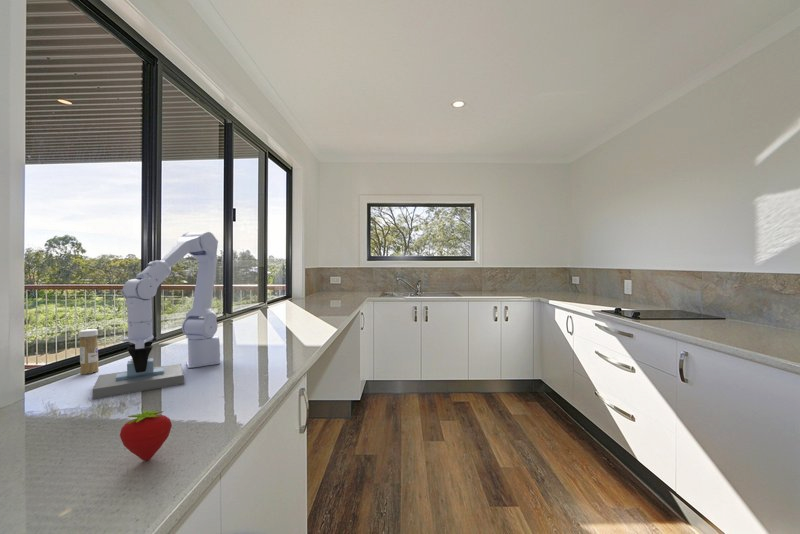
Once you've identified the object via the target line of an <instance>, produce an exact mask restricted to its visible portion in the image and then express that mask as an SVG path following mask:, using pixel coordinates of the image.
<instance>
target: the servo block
mask: <svg viewBox="0 0 800 534" xmlns="http://www.w3.org/2000/svg"><path fill="white" fill-rule="evenodd" d="M154 367H155V366H154V358H153V357H151V358H149V357H148V361H147V367H146V371H145V372H139V373H136V370H135V367H134V362H133V359H132V358H130V360H128V361H127V363H126V371H127V373H121V374H117V376H116V381H117V380H124V379H125V380H129V379H135V378H142V377H148V376H154V375H157V374H164V367H163V368H156V369H154Z"/></svg>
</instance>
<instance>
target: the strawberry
mask: <svg viewBox="0 0 800 534" xmlns="http://www.w3.org/2000/svg"><path fill="white" fill-rule="evenodd" d="M143 408H144V405H143V404H142V406H141V413H137V414H132V415H128V416H127V418H132V419H131V420H128V421H127V422H126V423H125V424H124V425H123V426H122V427H121V428H120V433H119V437H120V440H121V443H122V444H123V447H125V448H126V449H127V450H128V451H129V452H130V453H132V454H134V455H135V456H136V457H138V458H139V459H140V460H142V461H144V462H145V461H149V460H151V459H152V458H153V457H154V455H155V454H156V453H157V452H158V450H160V449H161V447H162V446H163V444H164V443H165V442H166V440H167V439H168V437H169V436H170V433H171V429H172V427H173V424H172V422H171V419H170V418H169V417H167V416H166V415H164V414H161V413H164V410H162V411H158V409H155V410H151V411H148V410H147V409H146V410H144V411H143Z"/></svg>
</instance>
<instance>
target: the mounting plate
mask: <svg viewBox="0 0 800 534" xmlns="http://www.w3.org/2000/svg"><path fill="white" fill-rule="evenodd" d="M163 367H164V374H157V375H154V376H148V377H142V378H135V379H129V380H125V379H124V380H117V381H116V376H117V374H121V373H127V370H125V371H121V372H111V373H105V374H99V375H98V377H97V379H96V381H95V383H94V385H93V388H92V399H93V398H96V399H100V398H99V397H102V398H107V397H106V396H108V397H113V396H112V395H114V396H119V395H118V394H120V395H125V394H132V393H137V392H143V391H150V390H155V389H162V388H168V387H172V386H173V387H174V386H178V385H179V386H181V385H184V384H185V374H184V371H183V366H182V363H175V364H169V365H163V366H154V369H156V368H163Z"/></svg>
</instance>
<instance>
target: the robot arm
mask: <svg viewBox="0 0 800 534" xmlns="http://www.w3.org/2000/svg"><path fill="white" fill-rule="evenodd" d="M218 244H219V240H218V239H217V237H216V236H215V235H214V233H213V232H211V231H204V232H184V233H183V234H182V235H181V236H180V237H178V238H177V242H176V244H174V246H173V247H171V249H170V250H169V251H168V252H167V253H166V254H165V255H164V256H163V257H162V258H161V259H160V260H158V259H157V260H156V259H155V260H154V261H149V263H147V265H148V266H146V268H145V269H143V270H142V271H141V272H138V273H137V274H136V275H135V276H136V277H134V278H132V279H129V280H127V281H126V282H125V283H124V285H123V287H122V289H120V292H121V295H122V297H123V298H124V299H125V304H126V308H127V309H126V311H127V313H126V315H127V316H126V317H127V318H126V320H127V337H124V338H122V343H123V342H127V343H128V346H129V347H127V352H128V353H129V355H130V356H131V359H133V362H134V367H135V370H136V373H139V372H145V371H146V367H147V361H148V359H149V357H150V353H151V352H152V350H153V346H154V345H152V344H153V339H154V335H153V307H152V306H153V302H152V301H153V300H152V298H153V297H155V296H157V295H156V294H157V291H158V288H159V287H160V285H161V284H162V283H163V282H164V281H165V280H166V279H167V278H168V277H169V276H170V275H171V274H172V267H174V266H175V265H176V264H177V263H178V262H180V260H182V259H183V258H184V257H185V256H187V255H188V254H189V255H190V256H192V257H193V258H194V259H196V261H197V262H198V266H197V271H196V274H197V275H196V280H195V281H196V282H195V289H194V293H193V294H194V295H193V303H192V308H191V309H190V310H188V312H186V314H185V318H184V320H183V322H182V323H181V331H182V333H183V335H185V336H186V337H185V339H187V360H188V361H186V367H187V369H192V368H193V369H194V368H199V367H200V368H201V367H206V366H212V365H218V364H219V365H220V364H221V349H220V348H221V345H220V338H219V336H218V335H215V334H216V333H217V331H218V328H219V327H218V321H217V320H218V319H217V318H218V315H217V314H216V313H215V311H213V310H212V304H213V295H214V287H215V280H216V271H217V266H218V265H217V264H218V263H217V262H218V253H217V252H218V246H219V245H218Z"/></svg>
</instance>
